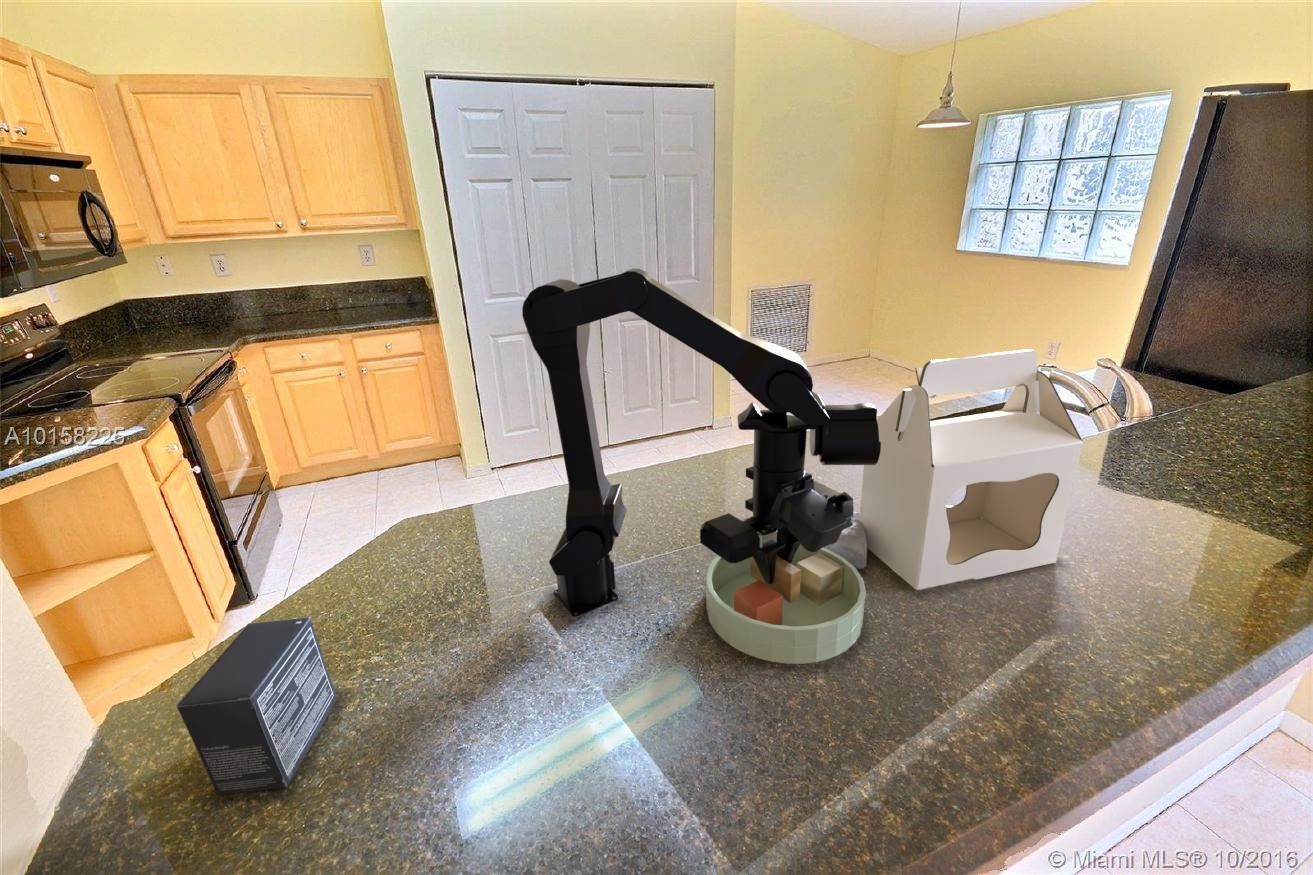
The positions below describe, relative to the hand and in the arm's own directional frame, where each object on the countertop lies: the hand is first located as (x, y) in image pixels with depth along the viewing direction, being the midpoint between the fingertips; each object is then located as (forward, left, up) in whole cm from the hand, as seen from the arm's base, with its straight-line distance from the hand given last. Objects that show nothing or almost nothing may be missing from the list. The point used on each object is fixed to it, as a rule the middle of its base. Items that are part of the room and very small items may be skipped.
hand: (774, 580), depth 71 cm
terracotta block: (-5, -2, -3) cm, 6 cm away
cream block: (+6, -2, -3) cm, 7 cm away
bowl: (-1, -2, -3) cm, 4 cm away
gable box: (+28, -6, -4) cm, 29 cm away
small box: (-53, +12, -4) cm, 54 cm away
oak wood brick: (0, 0, -1) cm, 1 cm away
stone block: (+15, +5, -3) cm, 16 cm away
